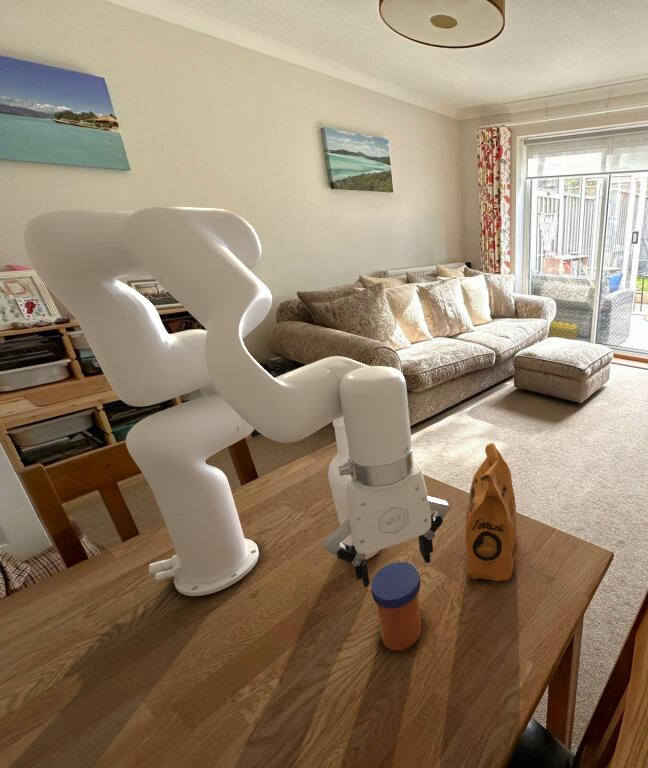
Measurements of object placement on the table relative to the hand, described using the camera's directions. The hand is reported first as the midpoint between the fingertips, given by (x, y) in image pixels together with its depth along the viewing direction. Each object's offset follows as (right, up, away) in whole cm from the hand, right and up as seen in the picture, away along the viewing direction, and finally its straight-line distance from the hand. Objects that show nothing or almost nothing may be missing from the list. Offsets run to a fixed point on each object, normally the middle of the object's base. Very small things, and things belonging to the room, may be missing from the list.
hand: (396, 567), depth 58 cm
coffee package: (+13, -7, +19) cm, 24 cm away
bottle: (-13, -6, +21) cm, 25 cm away
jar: (-1, -12, +5) cm, 13 cm away
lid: (0, -3, +1) cm, 3 cm away
